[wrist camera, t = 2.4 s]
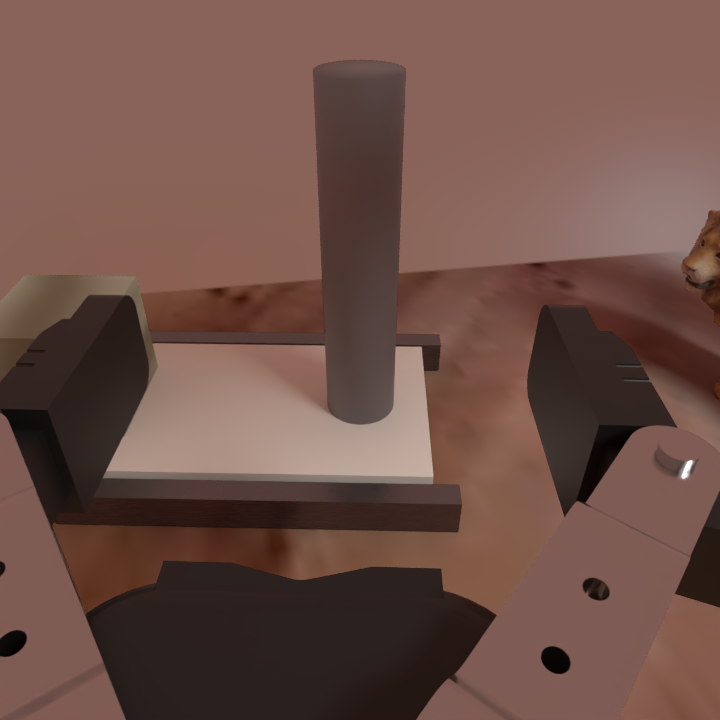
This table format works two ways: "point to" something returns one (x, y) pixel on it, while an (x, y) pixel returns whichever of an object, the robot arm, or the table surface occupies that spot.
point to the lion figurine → (706, 268)
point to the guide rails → (275, 498)
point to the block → (58, 311)
